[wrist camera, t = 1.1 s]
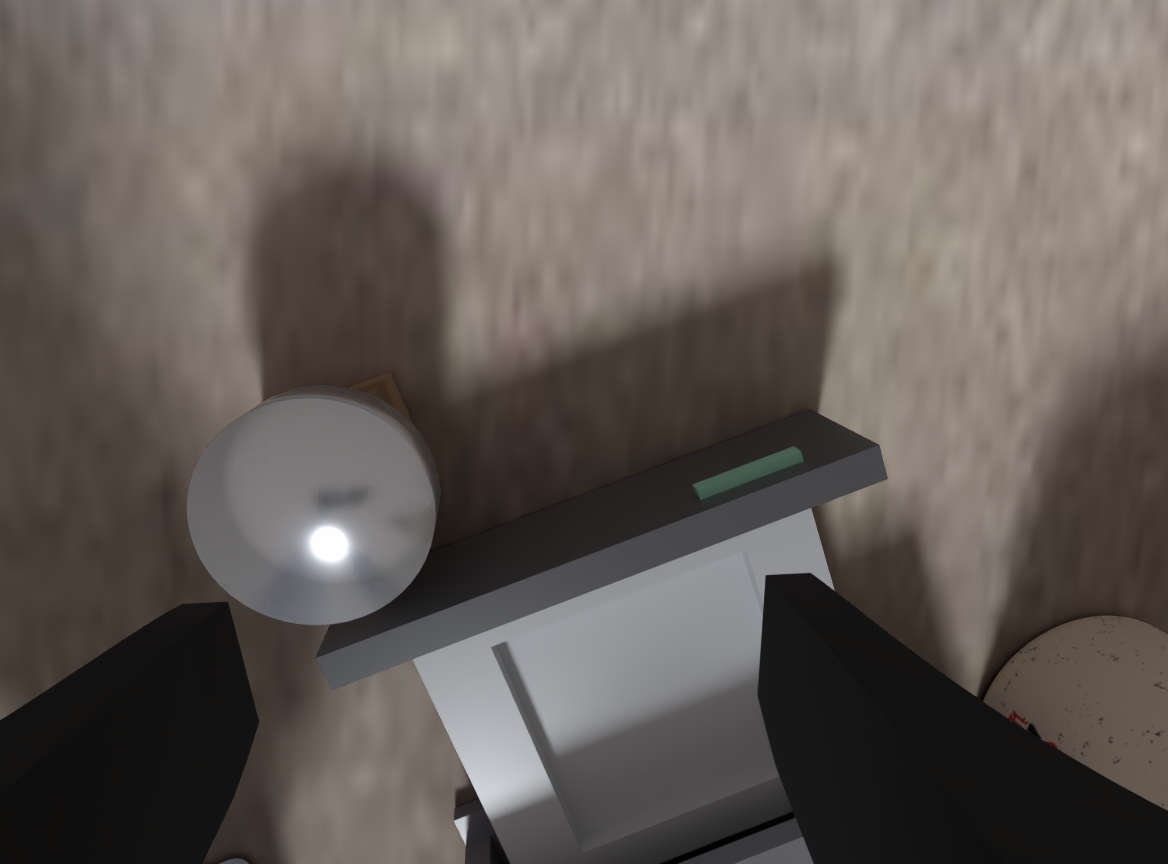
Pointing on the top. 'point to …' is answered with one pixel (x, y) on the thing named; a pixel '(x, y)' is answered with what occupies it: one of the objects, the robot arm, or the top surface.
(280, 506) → the disc
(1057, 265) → the top surface
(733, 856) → the grey drawer box
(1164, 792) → the cream lidded canister
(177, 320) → the top surface
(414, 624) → the tray
